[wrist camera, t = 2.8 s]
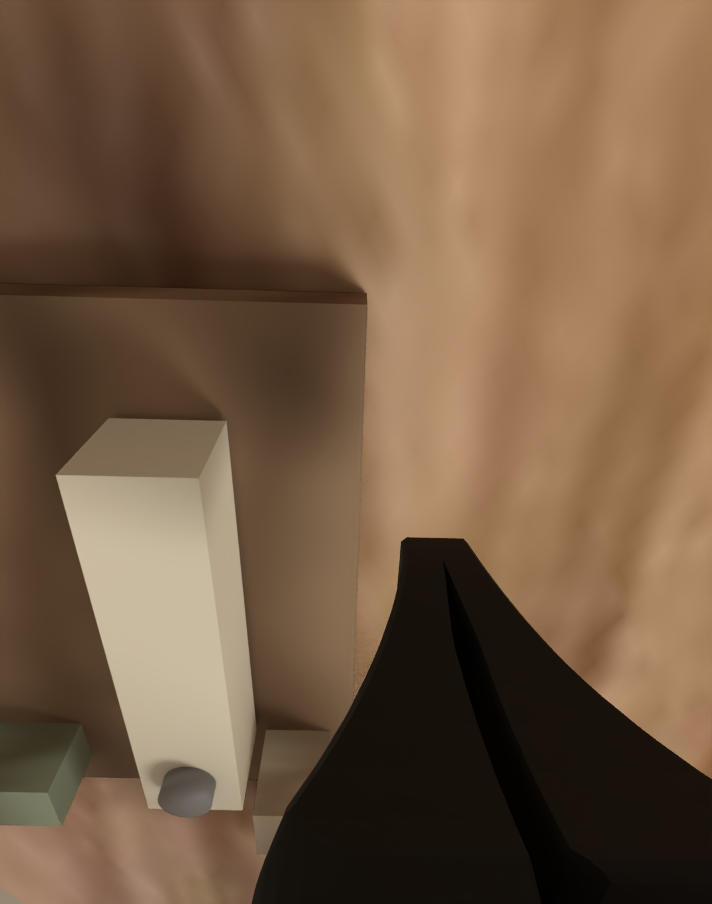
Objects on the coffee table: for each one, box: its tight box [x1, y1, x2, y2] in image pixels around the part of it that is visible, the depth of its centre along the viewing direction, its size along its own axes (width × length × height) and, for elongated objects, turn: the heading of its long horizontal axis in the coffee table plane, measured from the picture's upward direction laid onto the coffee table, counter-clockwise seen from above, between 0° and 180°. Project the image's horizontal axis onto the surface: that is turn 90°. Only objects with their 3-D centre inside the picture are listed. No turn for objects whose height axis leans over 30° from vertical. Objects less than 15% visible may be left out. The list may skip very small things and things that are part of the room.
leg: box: [56, 418, 257, 817], centre depth 15 cm, size 12×3×3 cm, turn 178°
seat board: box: [0, 283, 367, 854], centre depth 16 cm, size 18×19×4 cm
